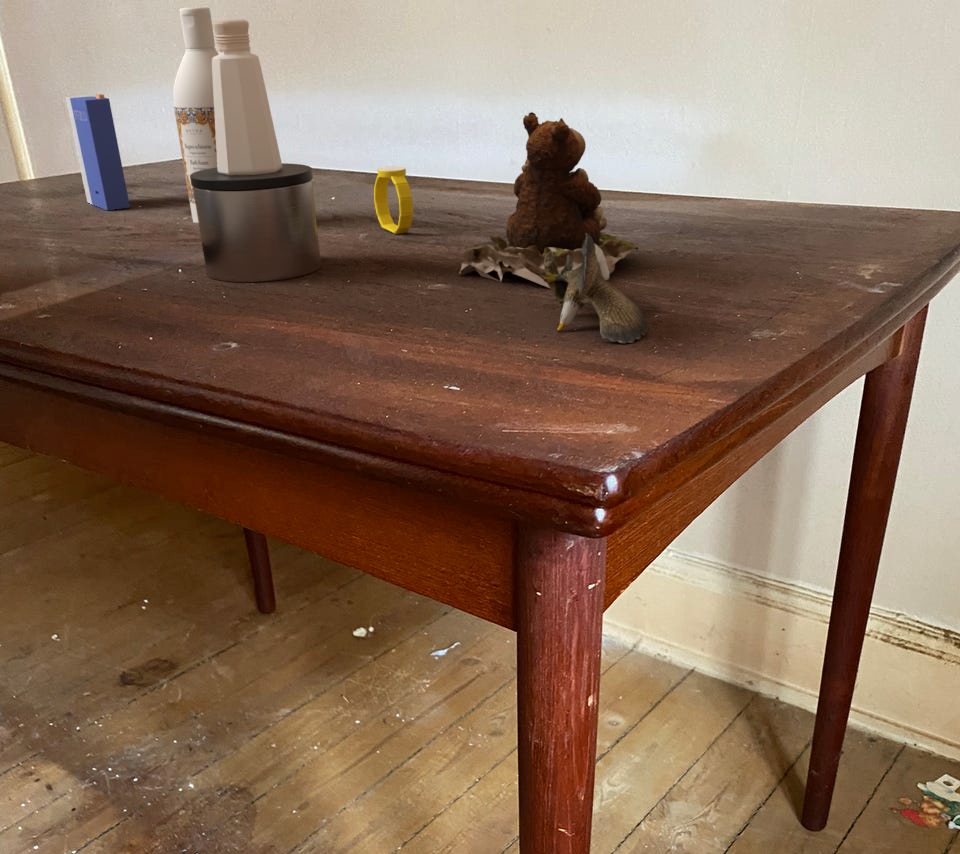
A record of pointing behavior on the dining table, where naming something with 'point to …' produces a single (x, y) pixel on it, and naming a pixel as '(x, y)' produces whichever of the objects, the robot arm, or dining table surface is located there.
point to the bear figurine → (549, 209)
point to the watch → (403, 194)
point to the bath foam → (196, 97)
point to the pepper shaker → (241, 105)
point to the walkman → (98, 151)
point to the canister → (257, 224)
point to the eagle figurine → (591, 294)
